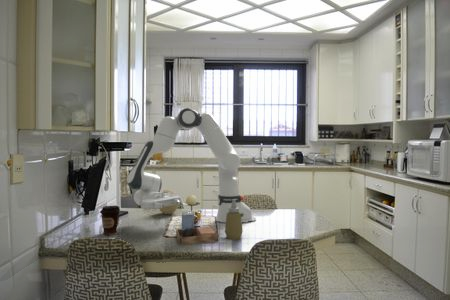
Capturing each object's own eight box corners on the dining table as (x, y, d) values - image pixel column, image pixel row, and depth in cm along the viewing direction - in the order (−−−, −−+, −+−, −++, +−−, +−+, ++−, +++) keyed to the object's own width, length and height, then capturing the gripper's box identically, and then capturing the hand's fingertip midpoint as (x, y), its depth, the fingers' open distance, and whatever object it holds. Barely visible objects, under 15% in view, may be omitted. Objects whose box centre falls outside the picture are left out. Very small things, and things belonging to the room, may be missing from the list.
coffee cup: (113, 236, 144) (113, 209, 143) (97, 235, 145) (97, 208, 145) (123, 231, 152) (123, 205, 152) (107, 230, 154) (107, 204, 153)
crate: (212, 234, 149) (212, 227, 149) (218, 243, 136) (218, 235, 136) (176, 236, 144) (176, 229, 144) (179, 246, 132) (179, 237, 132)
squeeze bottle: (224, 236, 145) (224, 198, 145) (241, 236, 146) (241, 198, 145) (225, 242, 137) (225, 201, 137) (243, 241, 138) (244, 201, 137)
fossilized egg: (157, 216, 182) (157, 191, 181) (157, 212, 194) (157, 188, 193) (179, 215, 185) (179, 190, 184) (177, 211, 197) (177, 187, 196)
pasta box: (210, 233, 147) (210, 226, 147) (215, 240, 137) (215, 232, 137) (196, 234, 145) (196, 227, 145) (200, 241, 136) (200, 233, 136)
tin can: (192, 236, 143) (193, 210, 142) (194, 240, 137) (195, 213, 137) (180, 237, 141) (181, 211, 141) (182, 241, 136) (182, 213, 136)
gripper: (136, 197, 152) (151, 201, 142) (171, 191, 166) (187, 194, 156) (136, 210, 152) (152, 214, 142) (171, 203, 166) (187, 207, 157)
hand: (170, 204), depth 149 cm, fingers open, 8 cm apart
